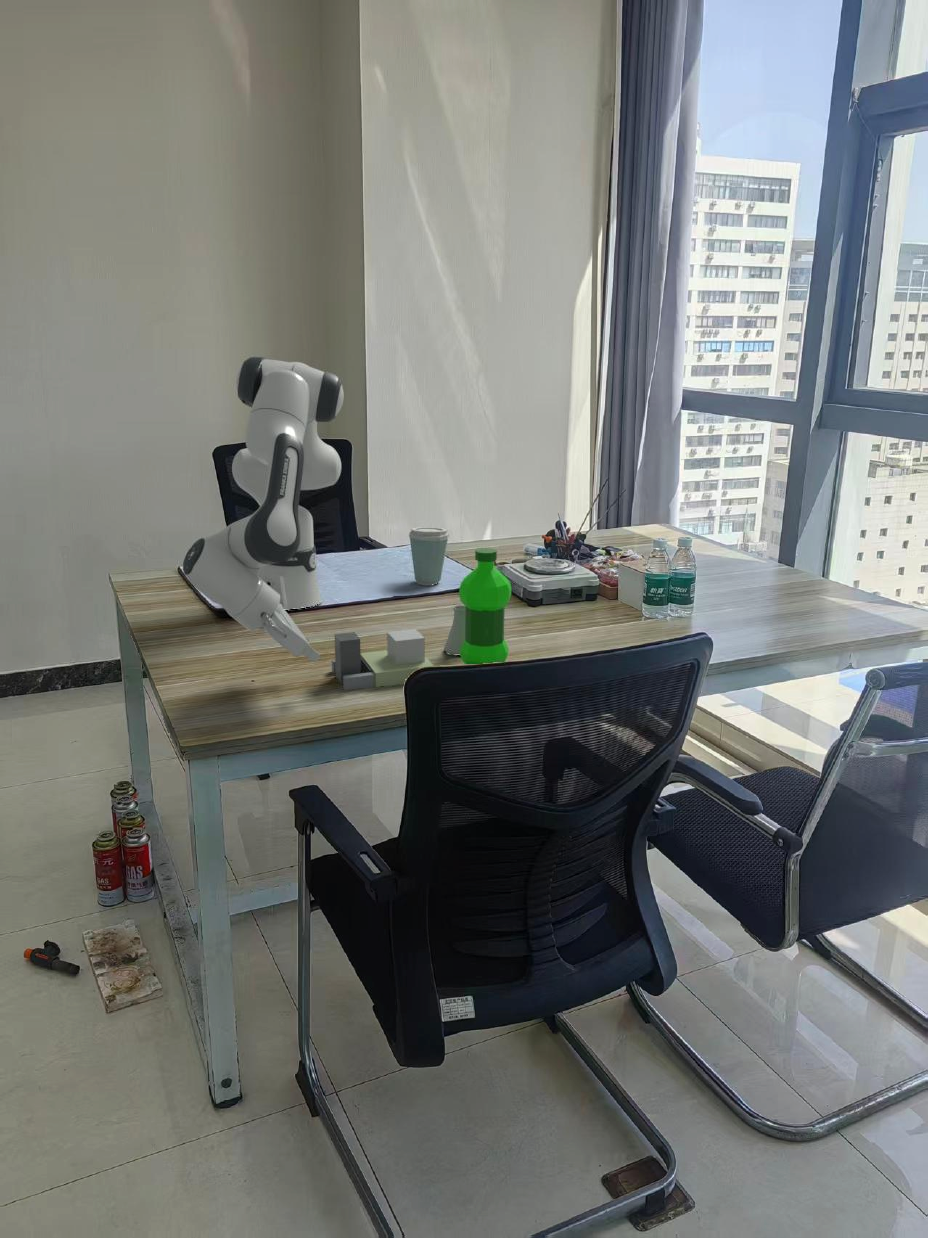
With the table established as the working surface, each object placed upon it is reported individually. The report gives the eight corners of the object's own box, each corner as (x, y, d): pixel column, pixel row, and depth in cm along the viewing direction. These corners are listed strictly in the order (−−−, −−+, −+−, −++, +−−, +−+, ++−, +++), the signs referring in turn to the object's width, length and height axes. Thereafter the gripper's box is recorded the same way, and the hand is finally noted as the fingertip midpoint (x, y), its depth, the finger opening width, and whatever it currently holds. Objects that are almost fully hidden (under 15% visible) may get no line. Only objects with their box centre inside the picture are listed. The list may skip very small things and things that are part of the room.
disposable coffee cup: (407, 577, 267) (407, 523, 263) (447, 577, 269) (447, 523, 264) (410, 588, 257) (409, 532, 253) (451, 587, 259) (451, 531, 254)
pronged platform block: (345, 691, 189) (344, 652, 187) (331, 670, 200) (330, 633, 198) (434, 680, 195) (434, 642, 193) (415, 660, 206) (415, 624, 204)
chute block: (341, 684, 193) (340, 641, 190) (335, 676, 197) (334, 634, 194) (361, 682, 194) (360, 639, 191) (355, 674, 198) (354, 632, 195)
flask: (442, 646, 215) (442, 602, 212) (475, 645, 215) (475, 601, 212) (444, 657, 208) (444, 612, 205) (478, 656, 209) (478, 611, 206)
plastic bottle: (455, 676, 197) (456, 555, 190) (464, 659, 207) (465, 543, 199) (505, 680, 196) (507, 558, 188) (511, 662, 205) (514, 545, 198)
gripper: (280, 609, 175) (335, 655, 181) (259, 581, 193) (310, 623, 200) (256, 636, 175) (312, 680, 181) (237, 605, 193) (289, 646, 199)
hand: (311, 650), depth 190 cm, fingers open, 8 cm apart
